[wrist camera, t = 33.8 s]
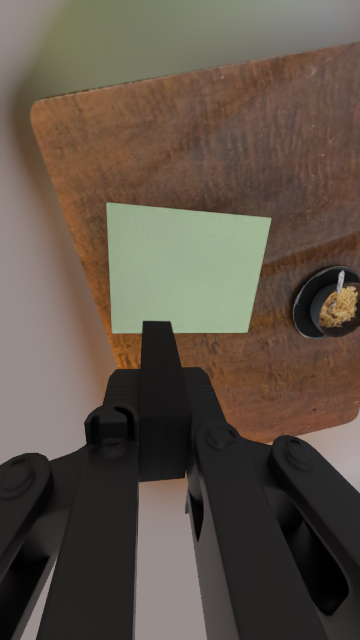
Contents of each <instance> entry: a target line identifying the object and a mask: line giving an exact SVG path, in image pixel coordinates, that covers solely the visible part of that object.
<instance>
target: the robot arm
mask: <svg viewBox="0 0 360 640" xmlns="http://www.w3.org/2000/svg"><path fill="white" fill-rule="evenodd" d="M84 425H85V434H86V442H87V444H86V445H85V446H83V447H82V448H80V449H79V450H77V451H75V452H73V453H71V454H68V455H65V456H62V457H60V458H57V459H54V460H51V461H48V459H47V457H46V456H44V455H41V454H39V453H25V454H22V455H19V456H16V457H13V458H11V459H10V460H8V461H7V462H5V463H3V464H1V465H0V640H20V638H21V636H22V634H23V632H24V629H25V627H26V625H27V623H28V621H29V619H30V616H31V614H32V611H33V610H34V607H35V605H36V603H37V600H38V598H39V596H40V593H41V592H42V590H43V587H44V585H45V583H46V581H47V579H48V576H49V574H50V572H51V570H52V567H53V565H54V563H55V561H56V558H57V556H58V558H57V562H56V565H55V569H54V573H53V577H52V581H51V584H50V588H49V592H48V596H47V599H46V603H45V607H44V611H43V614H42V618H41V622H40V626H39V630H38V634H37V637H36V640H135V613H136V611H135V610H136V577H137V542H138V539H137V538H138V505H139V504H138V503H139V482H147V481H158V480H170V479H181V478H185V472H186V473H187V479H188V490H187V497H186V504H185V514H187V513H189V515H190V521H191V529H192V536H193V543H194V550H195V557H196V564H197V571H198V578H199V585H200V592H201V599H202V606H203V613H204V620H205V627H206V634H207V640H360V493H359V492H358V491H357V490H356V489H355V488H354V487H353V486H352V485H351V484H350V483H349V482H347V480H346V479H345V478H344V477H343V476H342V475H341V474H340V473H339V472H338V471H337V470H336V469H335V468H334V467H333V466H332V465H331V464H330V463H329V462H328V461H327V460H326V459H325V458H324V457H323V456H322V455H321V454H320V453H319V452H318V451H317V450H316V449H314V448H313V447H312V446H311V445H309V444H308V443H307V442H305V441H303V440H301V439H299V438H297V437H293V436H289V435H285V436H279V437H278V438H276V439H275V440H274V442H273V444H272V445H267V444H263V443H259V442H255V441H251V440H248V439H245V438H243V437H241V436H240V435H239V433H238V432H237V430H236V429H235V428H234V427H232V426H231V425H230V424H228V423H227V421H226V419H225V417H224V414H223V412H222V409H221V407H220V404H219V402H218V399H217V397H216V394H215V392H214V389H213V387H212V385H211V382H210V379H209V377H208V374H207V373H206V372H205V371H204V370H202V369H201V368H200V367H183V368H182V367H181V362H180V358H179V354H178V350H177V346H176V341H175V337H174V333H173V329H172V325H171V321H143V324H142V346H141V368H140V369H117V370H115V371H114V373H113V374H112V375H111V376H110V377H109V381H108V385H107V389H106V393H105V397H104V401H103V405H102V406H100V407H98V408H96V409H95V410H94V411H92V412H91V413H90V414H89V415H88V417H87V419H86V420H85V422H84Z"/></svg>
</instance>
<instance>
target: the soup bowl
mask: <svg viewBox="0 0 360 640" xmlns="http://www.w3.org/2000/svg"><path fill="white" fill-rule="evenodd" d="M293 303H294V305H293V307H294V308H293V318H294V322H295V326H296V328H297V330H298V331H299V332H300V333H301V334H302V335H303V336H305V337H308V338H314V339H320V338H325V337H328V336H329V337H342V336H345V335H347V334H349V333H351V332H353V331H354V330H356V329H357V328H358V327H359V326H360V277H359V275H358V274H357V273H356V271H354V270H353V269H351V268H348V267H344V266H334V267H330V268H327V269H324V270H323V271H320V272H318V273H317V274H316V275H315V276H313V277H312V278H311V279H310V280H309V281H308V282H307V283H306V284H305V285H304V286H303V287H302V288H301V289H300V291H299V293H298V294H297V296H296V298H295V300H294V302H293Z"/></svg>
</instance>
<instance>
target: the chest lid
mask: <svg viewBox="0 0 360 640" xmlns="http://www.w3.org/2000/svg"><path fill="white" fill-rule="evenodd" d="M106 208H107V230H108V253H109V276H110V298H111V321H112V333H142V324H143V321H171V325H172V329H173V333H247V332H248V327H249V323H250V318H251V313H252V308H253V304H254V299H255V294H256V289H257V285H258V280H259V275H260V270H261V266H262V261H263V256H264V251H265V247H266V242H267V237H268V232H269V228H270V223H271V218H267V217H256V216H245V215H235V214H224V213H214V212H203V211H192V210H182V209H171V208H161V207H150V206H139V205H129V204H118V203H108V202H107V203H106Z"/></svg>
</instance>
